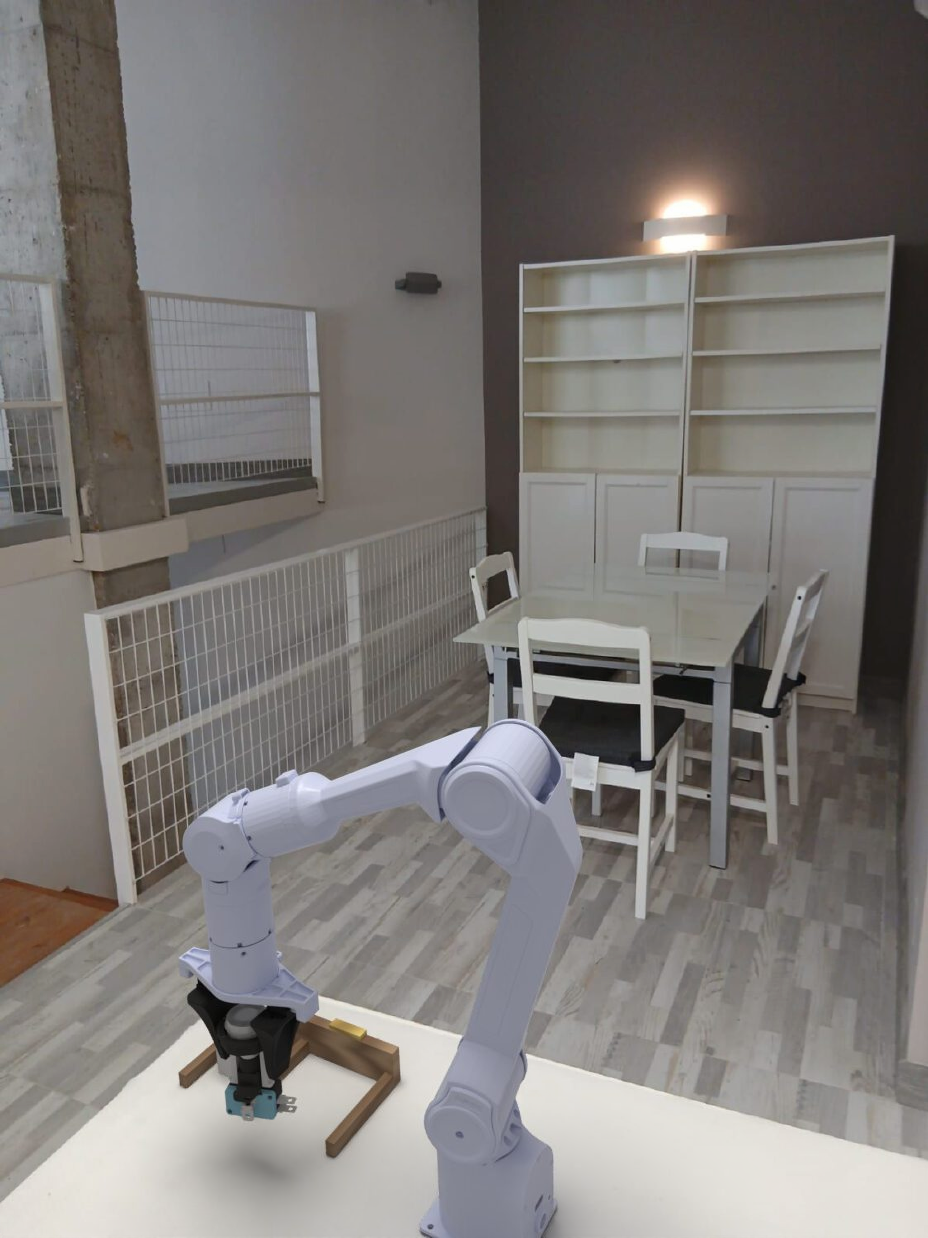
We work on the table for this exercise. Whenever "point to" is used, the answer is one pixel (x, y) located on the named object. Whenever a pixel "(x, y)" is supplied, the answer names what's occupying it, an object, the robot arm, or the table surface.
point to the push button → (249, 1068)
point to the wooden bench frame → (338, 1047)
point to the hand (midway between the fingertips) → (254, 1062)
